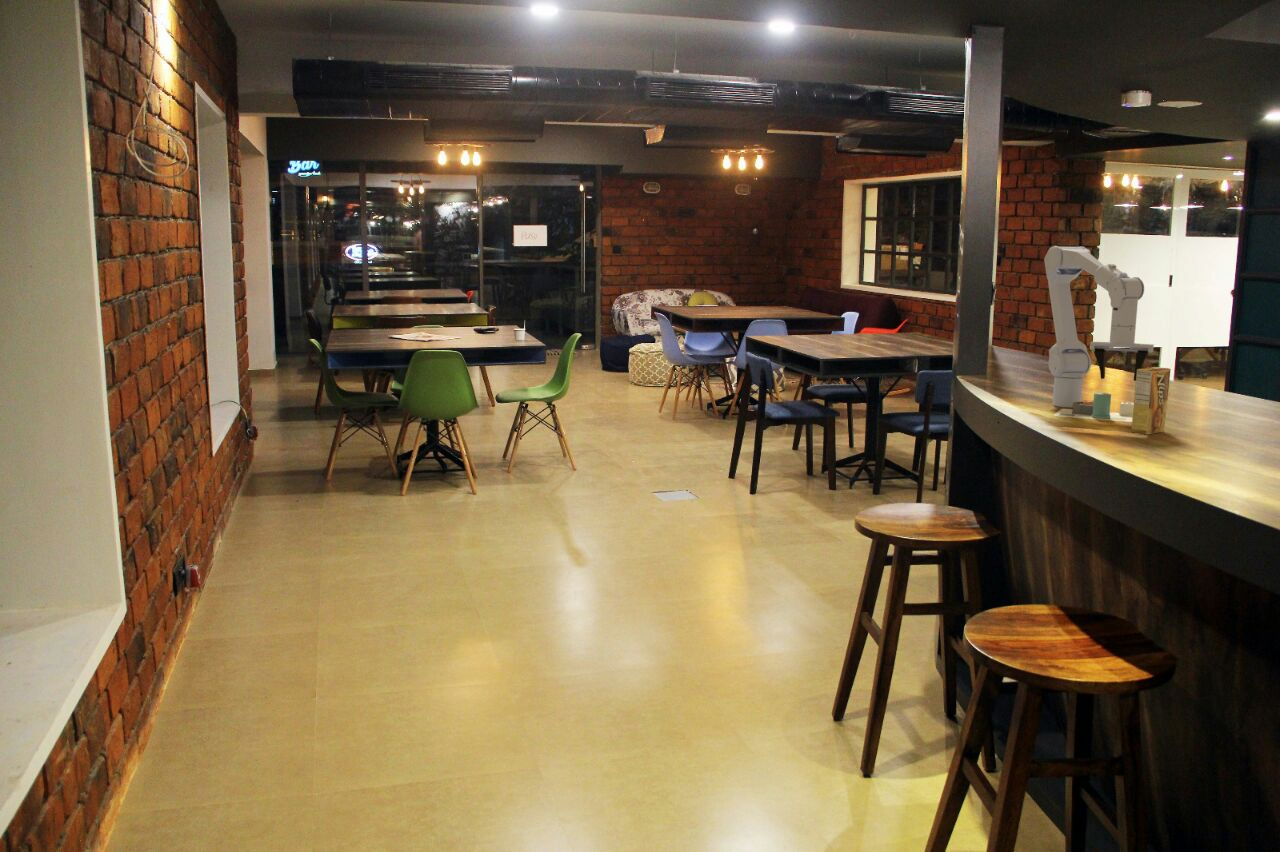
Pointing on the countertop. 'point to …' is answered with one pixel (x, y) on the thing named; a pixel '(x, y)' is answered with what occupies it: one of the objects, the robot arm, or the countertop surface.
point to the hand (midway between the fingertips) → (1118, 379)
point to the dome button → (1087, 402)
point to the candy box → (1150, 399)
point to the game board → (1087, 411)
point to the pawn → (1101, 406)
